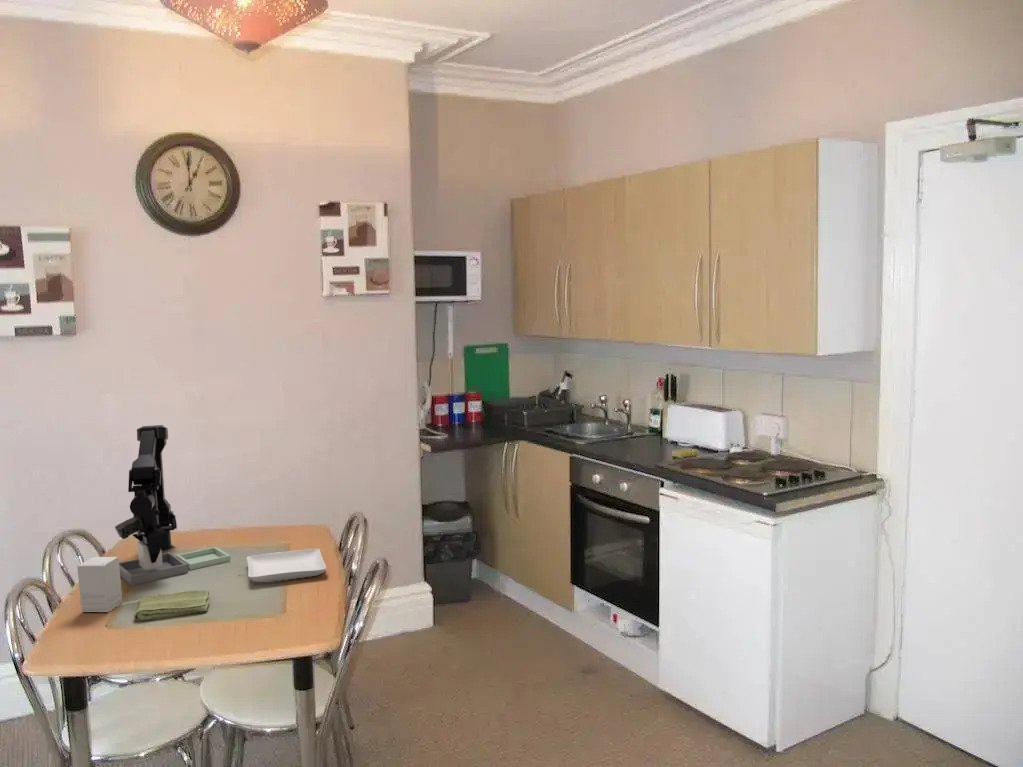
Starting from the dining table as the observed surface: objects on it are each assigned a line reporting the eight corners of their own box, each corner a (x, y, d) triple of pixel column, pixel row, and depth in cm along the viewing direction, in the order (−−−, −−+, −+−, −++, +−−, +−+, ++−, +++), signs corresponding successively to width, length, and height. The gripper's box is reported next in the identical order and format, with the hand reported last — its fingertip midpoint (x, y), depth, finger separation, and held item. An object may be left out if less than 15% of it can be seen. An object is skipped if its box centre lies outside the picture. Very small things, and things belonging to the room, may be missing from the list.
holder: (176, 562, 258) (176, 555, 258) (215, 553, 265) (215, 546, 265) (190, 571, 249) (189, 564, 248) (230, 562, 256) (230, 555, 256)
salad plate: (319, 557, 260) (319, 546, 260) (327, 579, 240) (327, 567, 240) (246, 566, 254) (246, 555, 253) (249, 589, 234) (248, 577, 233)
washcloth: (209, 614, 217) (208, 602, 216) (133, 624, 211) (132, 612, 211) (209, 597, 229) (209, 585, 229) (138, 606, 223) (137, 594, 223)
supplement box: (123, 602, 225) (120, 556, 223) (107, 613, 218) (103, 565, 216) (97, 602, 226) (93, 556, 224) (80, 613, 218) (76, 565, 217)
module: (139, 565, 248) (137, 541, 247) (157, 561, 251) (155, 538, 250) (144, 569, 244) (142, 545, 243) (162, 565, 247) (160, 542, 246)
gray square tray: (115, 573, 249) (114, 563, 248) (170, 561, 258) (169, 552, 258) (131, 587, 237) (130, 576, 236) (188, 574, 246) (187, 564, 246)
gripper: (107, 506, 247) (112, 559, 249) (126, 519, 233) (130, 574, 235) (147, 499, 254) (151, 550, 256) (168, 511, 240) (172, 565, 242)
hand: (150, 560), depth 247 cm, fingers closed on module, 5 cm apart
